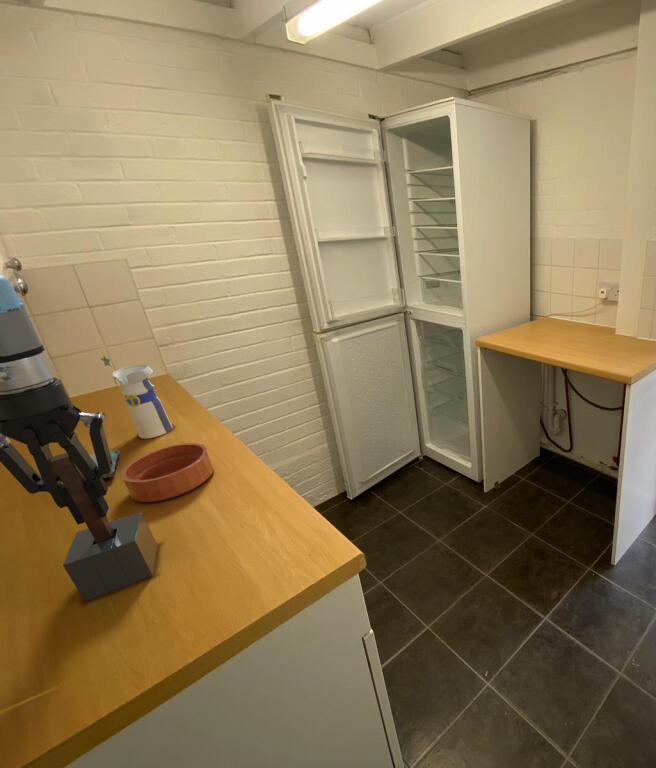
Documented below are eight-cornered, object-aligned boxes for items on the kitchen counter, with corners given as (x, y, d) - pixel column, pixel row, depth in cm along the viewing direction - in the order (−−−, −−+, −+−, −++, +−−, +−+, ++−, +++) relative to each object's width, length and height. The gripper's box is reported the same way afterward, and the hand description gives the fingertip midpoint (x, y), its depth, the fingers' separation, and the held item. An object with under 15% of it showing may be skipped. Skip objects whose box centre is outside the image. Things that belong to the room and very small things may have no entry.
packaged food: (68, 494, 94) (59, 476, 92) (79, 470, 103) (70, 453, 101) (119, 480, 99) (110, 463, 97) (125, 458, 108) (117, 442, 106)
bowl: (127, 514, 87) (115, 491, 85) (136, 478, 99) (126, 457, 97) (215, 487, 95) (206, 465, 93) (214, 456, 107) (206, 436, 105)
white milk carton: (163, 437, 117) (128, 353, 107) (130, 440, 116) (91, 356, 106) (180, 423, 125) (149, 343, 115) (149, 426, 124) (115, 345, 114)
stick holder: (85, 601, 68) (62, 565, 65) (96, 566, 75) (76, 532, 72) (153, 575, 72) (134, 540, 69) (157, 544, 79) (141, 511, 76)
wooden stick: (115, 577, 72) (50, 461, 63) (117, 570, 74) (54, 455, 64) (130, 572, 73) (68, 457, 64) (132, 564, 75) (71, 451, 65)
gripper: (-73, 409, 53) (21, 550, 62) (87, 380, 60) (149, 509, 70) (-45, 389, 58) (36, 521, 68) (97, 365, 66) (153, 487, 75)
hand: (93, 515), depth 69 cm, fingers closed on wooden stick, 2 cm apart
